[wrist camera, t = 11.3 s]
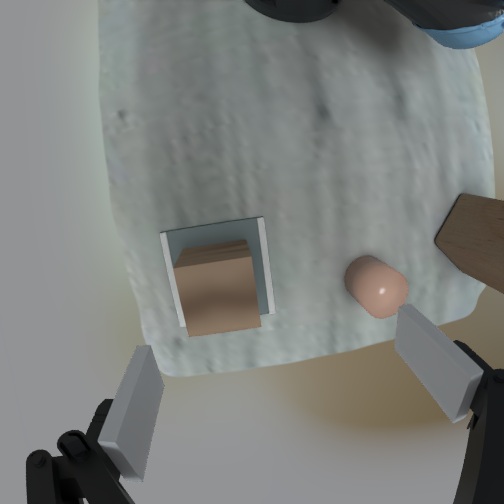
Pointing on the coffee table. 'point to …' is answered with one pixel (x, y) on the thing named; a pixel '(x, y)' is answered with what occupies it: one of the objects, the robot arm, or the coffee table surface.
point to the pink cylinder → (376, 286)
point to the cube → (217, 288)
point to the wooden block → (476, 238)
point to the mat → (223, 233)
